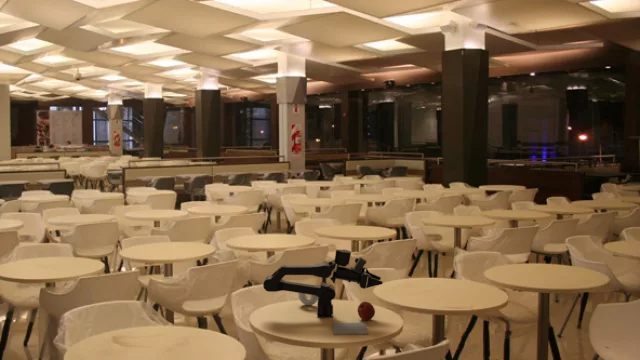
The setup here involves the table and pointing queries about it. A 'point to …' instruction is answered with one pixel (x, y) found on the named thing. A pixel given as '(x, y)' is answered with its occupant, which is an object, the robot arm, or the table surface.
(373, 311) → the apple
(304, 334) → the table surface
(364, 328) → the mat
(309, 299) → the donut
